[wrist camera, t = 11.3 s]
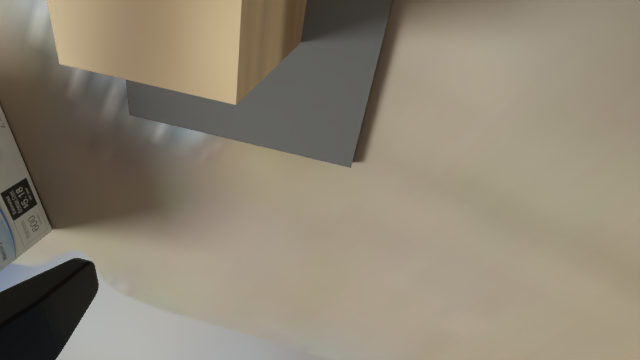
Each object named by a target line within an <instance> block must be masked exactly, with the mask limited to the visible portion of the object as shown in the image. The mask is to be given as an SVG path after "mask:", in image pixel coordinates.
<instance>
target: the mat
mask: <svg viewBox="0 0 640 360" xmlns="http://www.w3.org/2000/svg"><path fill="white" fill-rule="evenodd" d="M392 1H393V0H307V2H306V9H305V16H304V23H303V30H302V38H301V43H300V44H299V45H298V46H297V47H296V48H295V49H294V50H293V51H292V52H291V53H290V54H288V55H287V56H286V57H285V58H284V59H283V60H282V61H281V62H280V63H279V64H278V65H277V66H276V67H275V68H274V69H273V70H272V71H271V72H270V73H269V74H268V75H267V76H266V77H265V78H264V79H262V80H261V81H260V82H259V83H258V84H257V85H256V86H255V87H254V88H253V89H252V90H251V91H250V92H249V93H248V94H247V95H246V96H245V97H244V98H243V99H242V100H241V101H240V102H239V103H237V104H236V105H234V104H229V103H225V102H221V101H217V100H212V99H208V98H204V97H199V96H195V95H191V94H186V93H182V92H178V91H173V90H169V89H165V88H161V87H156V86H152V85H148V84H143V83H139V82H135V81H130V80H126V83H127V93H128V103H129V113H130V115H133V116H137V117H141V118H145V119H149V120H153V121H158V122H162V123H166V124H170V125H174V126H179V127H183V128H187V129H191V130H195V131H200V132H204V133H208V134H212V135H216V136H220V137H225V138H229V139H233V140H237V141H241V142H246V143H250V144H254V145H258V146H262V147H267V148H271V149H275V150H279V151H283V152H287V153H292V154H296V155H300V156H304V157H308V158H313V159H317V160H321V161H325V162H329V163H334V164H338V165H342V166H346V167H350V168H351V165H352V161H353V157H354V153H355V149H356V145H357V141H358V137H359V133H360V129H361V125H362V121H363V117H364V113H365V109H366V105H367V101H368V97H369V93H370V89H371V85H372V81H373V77H374V73H375V69H376V65H377V61H378V57H379V53H380V49H381V45H382V41H383V37H384V33H385V29H386V25H387V21H388V17H389V13H390V9H391V5H392Z"/></svg>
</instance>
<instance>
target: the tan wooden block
mask: <svg viewBox="0 0 640 360" xmlns="http://www.w3.org/2000/svg"><path fill="white" fill-rule="evenodd" d="M306 2H307V0H47V3H48V8H49V13H50V18H51V23H52V28H53V33H54V38H55V44H56V49H57V54H58V59H59V64H61V65H66V66H70V67H74V68H79V69H83V70H87V71H92V72H96V73H100V74H105V75H109V76H113V77H117V78H122V79H126V80H130V81H135V82H139V83H143V84H148V85H152V86H156V87H161V88H165V89H169V90H173V91H178V92H182V93H186V94H191V95H195V96H199V97H204V98H208V99H212V100H217V101H221V102H225V103H229V104H234V105H236V104H237V103H239V102H240V101H241V100H242V99H243V98H244V97H245V96H246V95H247V94H248V93H249V92H250V91H251V90H252V89H253V88H254V87H255V86H256V85H257V84H258V83H259V82H260V81H261V80H262V79H264V78H265V77H266V76H267V75H268V74H269V73H270V72H271V71H272V70H273V69H274V68H275V67H276V66H277V65H278V64H279V63H280V62H281V61H282V60H283V59H284V58H285V57H286V56H287V55H288V54H290V53H291V52H292V51H293V50H294V49H295V48H296V47H297V46H298V45H299V44H300V43H301V38H302V30H303V23H304V16H305V9H306Z"/></svg>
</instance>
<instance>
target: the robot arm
mask: <svg viewBox="0 0 640 360" xmlns="http://www.w3.org/2000/svg"><path fill="white" fill-rule="evenodd" d="M98 285H99V284H98V279H97V274H96V269H95V265H94V263H93V262H91V261H88V260H84V259H81V258H74V259H71V260H69V261H67V262H64V263H62V264H60V265H58V266H56V267H54V268H52V269H49V270H47V271H45V272H43V273H41V274H38V275H36V276H34V277H32V278H30V279H28V280H25V281H23V282H21V283H19V284H17V285H15V286H13V287H10V288H8V289H6V290H4V291H2V292H0V360H55V359H56V358H57V357H58V355H59V354H60V352H61V351H62V349H63V347H64V346H65V345H66V343H67V341H68V340H69V338H70V336H71V335H72V333H73V332H74V330H75V328H76V327H77V325H78V323H79V322H80V320H81V318H82V317H83V315H84V314H85V312H86V310H87V309H88V307H89V305H90V304H91V302H92V300H93V299H94V297H95V295H96V293H97V291H98Z"/></svg>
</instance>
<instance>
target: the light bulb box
mask: <svg viewBox="0 0 640 360" xmlns="http://www.w3.org/2000/svg"><path fill="white" fill-rule="evenodd" d="M51 231H52V228H51V226H50V224H49V221H48V219H47V217H46V214H45V212H44V209H43V207H42V204H41V202H40V200H39V197H38V195H37V192H36V190H35V188H34V185H33V183H32V180H31V178H30V175H29V173H28V171H27V168H26V166H25V163H24V161H23V159H22V156H21V154H20V151H19V149H18V147H17V144H16V142H15V139H14V137H13V134H12V132H11V130H10V127H9V125H8V122H7V120H6V117H5V115H4V113H3V110H2V108H1V105H0V271H1V270H3V269H4V268H5V267H6V266H8V265H9V264H10V263H11V262H13V261H14V260H15V259H17V258H18V257H19V256H20V255H22V254H23V253H24V252H25V251H27V250H28V249H29V248H30V247H32V246H33V245H34V244H36V243H37V242H38V241H39V240H41V239H42V238H43V237H45V236H46V235H47V234H48V233H50V232H51Z"/></svg>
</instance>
